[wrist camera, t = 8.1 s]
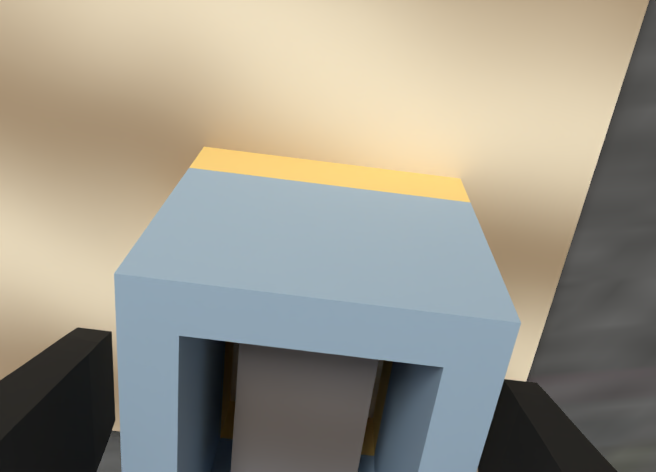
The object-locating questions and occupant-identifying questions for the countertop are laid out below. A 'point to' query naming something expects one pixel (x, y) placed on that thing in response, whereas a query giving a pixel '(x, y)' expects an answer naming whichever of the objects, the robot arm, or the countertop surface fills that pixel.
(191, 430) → the sleeve
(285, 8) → the board
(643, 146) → the countertop surface
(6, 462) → the robot arm
